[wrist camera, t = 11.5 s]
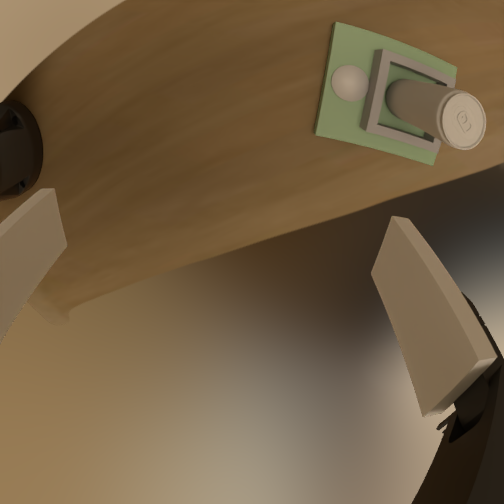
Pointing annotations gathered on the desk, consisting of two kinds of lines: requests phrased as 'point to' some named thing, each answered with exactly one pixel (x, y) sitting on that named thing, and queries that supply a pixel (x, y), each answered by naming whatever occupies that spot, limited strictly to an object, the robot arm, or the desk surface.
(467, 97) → the beverage can
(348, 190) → the desk surface
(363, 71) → the green tray with frame
